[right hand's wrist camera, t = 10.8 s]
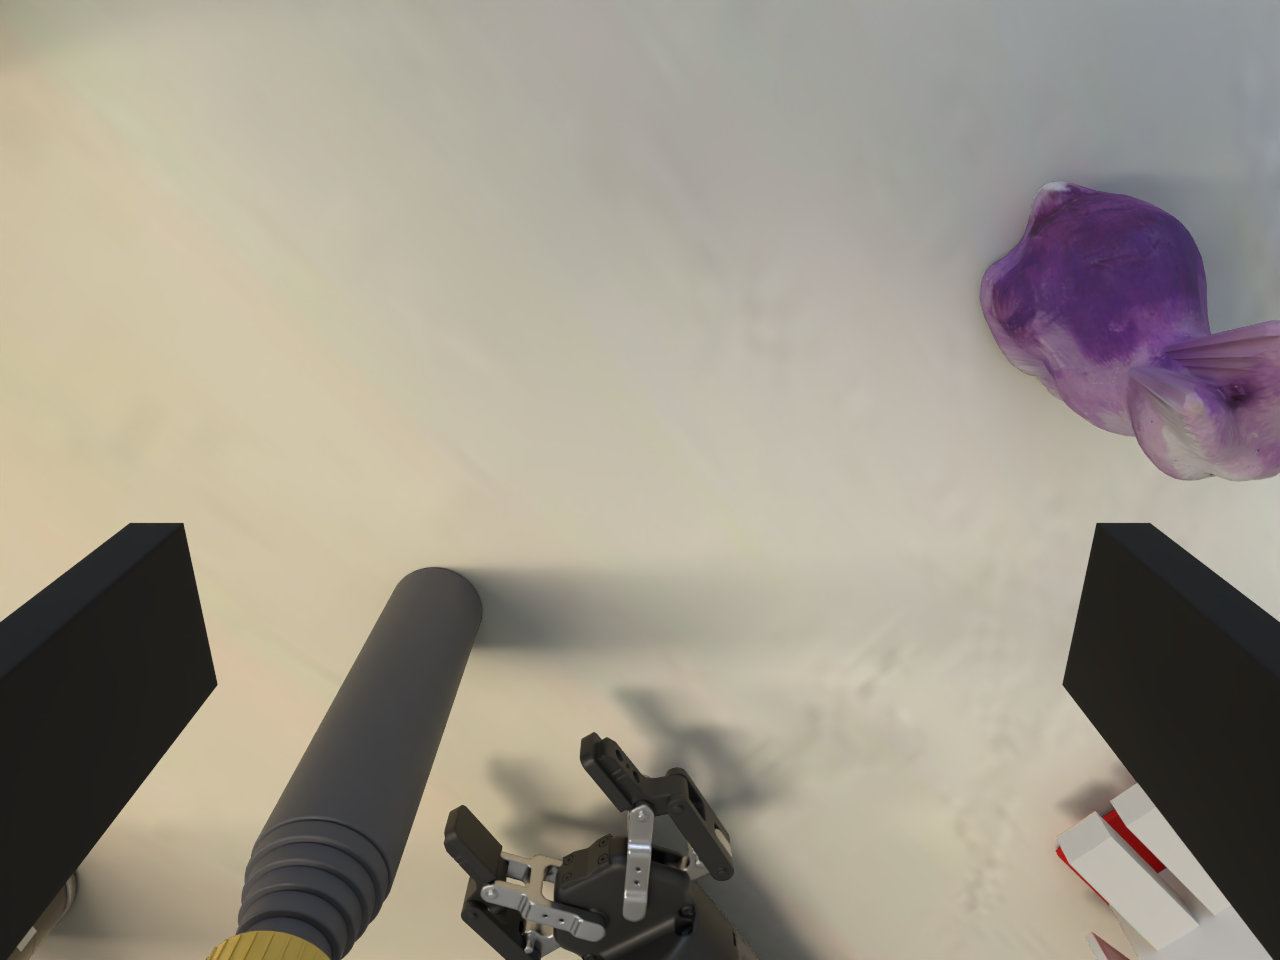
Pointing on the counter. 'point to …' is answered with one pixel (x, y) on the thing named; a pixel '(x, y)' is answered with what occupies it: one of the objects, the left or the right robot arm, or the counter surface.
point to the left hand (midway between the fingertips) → (518, 782)
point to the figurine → (1136, 335)
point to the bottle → (364, 771)
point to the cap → (267, 947)
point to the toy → (1154, 887)
